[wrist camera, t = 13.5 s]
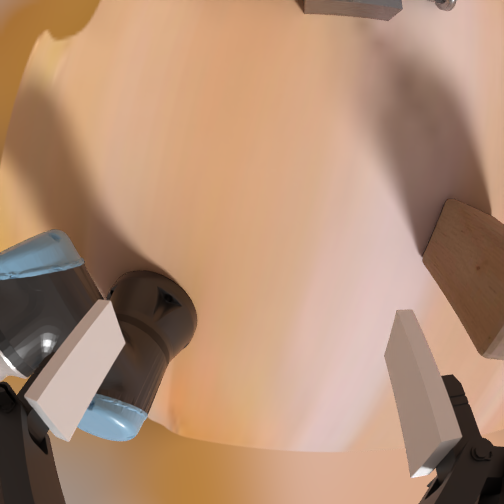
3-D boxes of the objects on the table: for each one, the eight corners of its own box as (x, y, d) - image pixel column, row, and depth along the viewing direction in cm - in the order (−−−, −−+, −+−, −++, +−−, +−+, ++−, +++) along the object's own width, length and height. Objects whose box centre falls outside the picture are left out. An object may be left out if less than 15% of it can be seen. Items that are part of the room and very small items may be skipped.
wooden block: (445, 194, 35) (536, 268, 17) (494, 216, 35) (580, 290, 17) (417, 260, 39) (478, 361, 22) (467, 275, 39) (531, 366, 21)
